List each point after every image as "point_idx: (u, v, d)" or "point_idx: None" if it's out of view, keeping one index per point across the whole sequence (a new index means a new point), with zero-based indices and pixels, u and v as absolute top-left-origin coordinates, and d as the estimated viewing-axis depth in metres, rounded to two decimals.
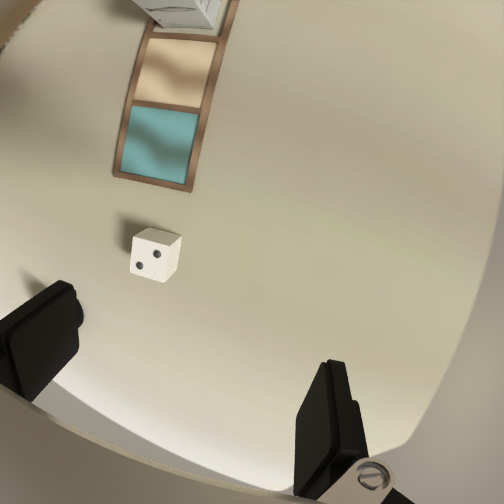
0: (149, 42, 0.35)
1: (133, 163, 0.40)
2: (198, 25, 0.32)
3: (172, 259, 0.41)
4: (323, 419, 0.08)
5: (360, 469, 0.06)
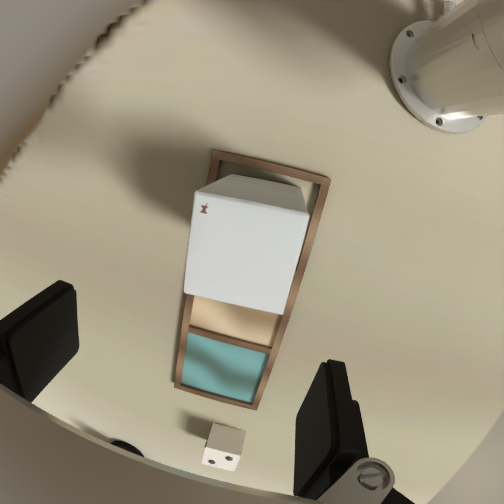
0: None
1: (196, 379, 0.40)
2: None
3: None
4: (323, 419, 0.08)
5: (360, 469, 0.06)
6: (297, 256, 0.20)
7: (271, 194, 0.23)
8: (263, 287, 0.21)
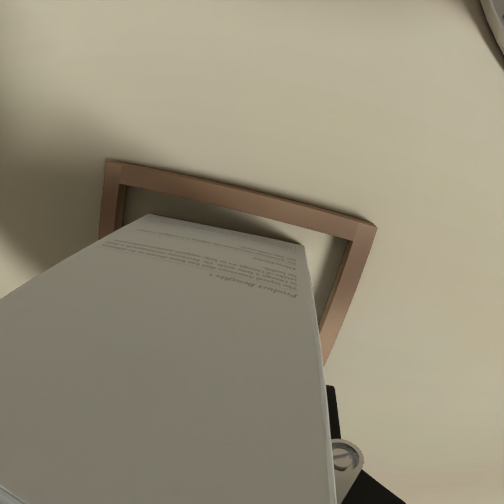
0: None
1: None
2: None
3: None
4: None
5: None
6: None
7: (186, 361, 0.05)
8: None
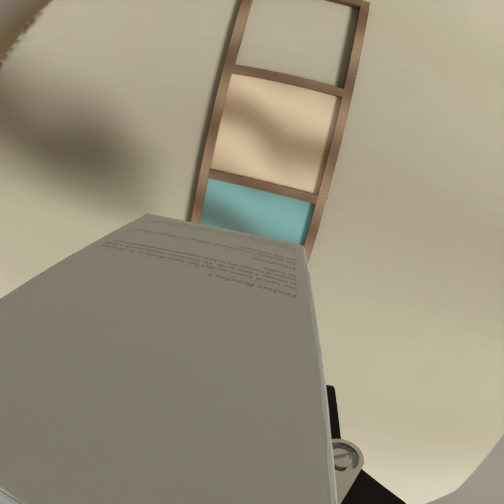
0: (230, 80, 0.26)
1: None
2: None
3: None
4: None
5: None
6: None
7: (186, 362, 0.05)
8: None
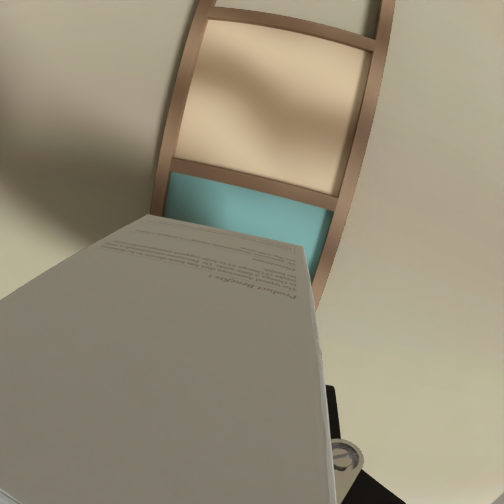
0: (206, 29, 0.16)
1: None
2: None
3: None
4: None
5: None
6: None
7: (186, 364, 0.05)
8: None
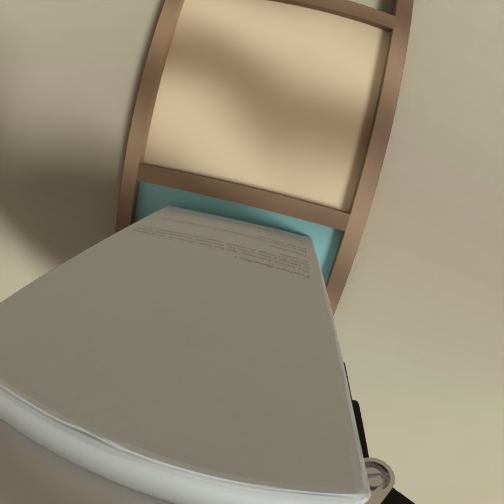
0: (184, 4, 0.12)
1: None
2: None
3: None
4: None
5: None
6: None
7: (227, 321, 0.06)
8: None
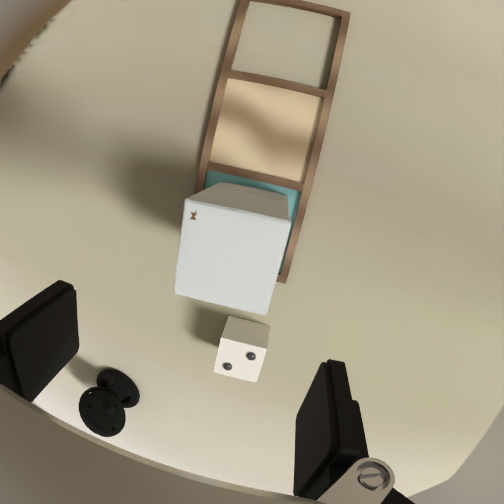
0: (226, 84, 0.30)
1: None
2: None
3: None
4: (323, 419, 0.08)
5: (360, 469, 0.06)
6: (279, 260, 0.22)
7: (257, 202, 0.24)
8: (248, 289, 0.22)
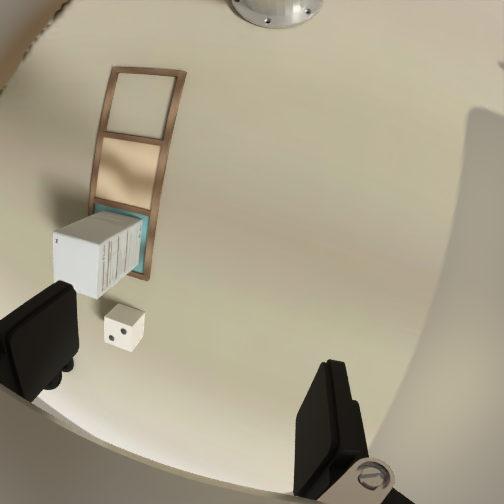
0: (103, 141, 0.42)
1: None
2: None
3: (137, 332, 0.48)
4: (323, 419, 0.08)
5: (360, 469, 0.06)
6: (97, 267, 0.34)
7: (96, 230, 0.36)
8: (85, 283, 0.34)
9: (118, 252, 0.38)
